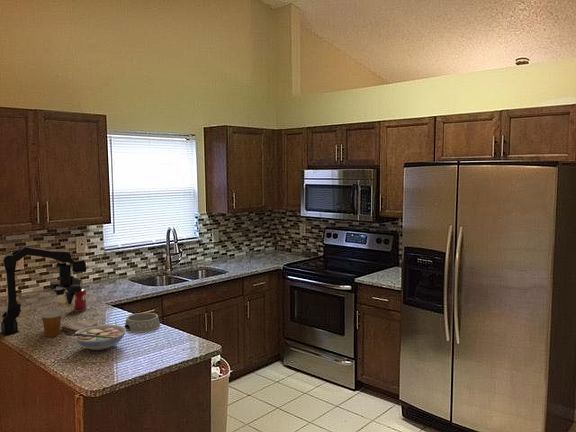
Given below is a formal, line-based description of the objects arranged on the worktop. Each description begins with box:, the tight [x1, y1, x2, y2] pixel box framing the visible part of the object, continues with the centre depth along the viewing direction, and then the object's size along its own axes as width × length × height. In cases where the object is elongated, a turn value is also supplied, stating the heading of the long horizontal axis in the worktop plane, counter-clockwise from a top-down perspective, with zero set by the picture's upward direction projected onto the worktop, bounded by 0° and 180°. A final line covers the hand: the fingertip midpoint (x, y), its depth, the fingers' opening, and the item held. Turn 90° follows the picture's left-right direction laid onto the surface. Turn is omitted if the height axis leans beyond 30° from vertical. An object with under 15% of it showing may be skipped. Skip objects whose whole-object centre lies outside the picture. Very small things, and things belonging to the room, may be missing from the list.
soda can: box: [72, 288, 88, 312], centre depth 288 cm, size 7×7×12 cm
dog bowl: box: [123, 312, 161, 332], centre depth 259 cm, size 17×18×5 cm
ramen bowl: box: [64, 324, 127, 351], centre depth 227 cm, size 25×23×8 cm
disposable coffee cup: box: [40, 308, 63, 338], centre depth 244 cm, size 10×10×12 cm
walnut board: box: [61, 319, 98, 333], centre depth 254 cm, size 12×12×2 cm
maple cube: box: [56, 293, 75, 309], centre depth 261 cm, size 6×6×6 cm
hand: (66, 303), depth 261 cm, fingers closed on maple cube, 6 cm apart
